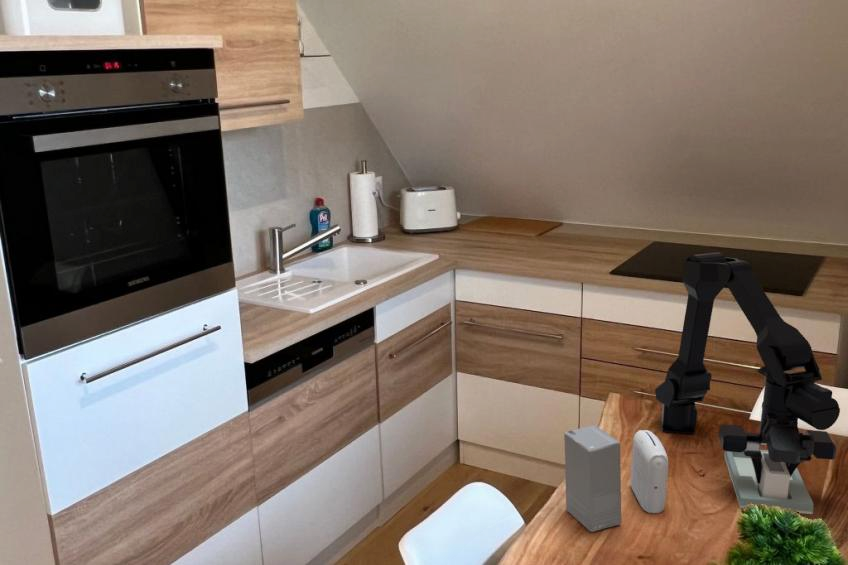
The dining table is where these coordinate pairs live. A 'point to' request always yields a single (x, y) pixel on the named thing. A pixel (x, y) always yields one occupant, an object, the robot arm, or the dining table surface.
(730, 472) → the keyhole tray
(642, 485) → the photo printer
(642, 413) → the dining table surface
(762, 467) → the socket block
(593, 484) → the skincare box
